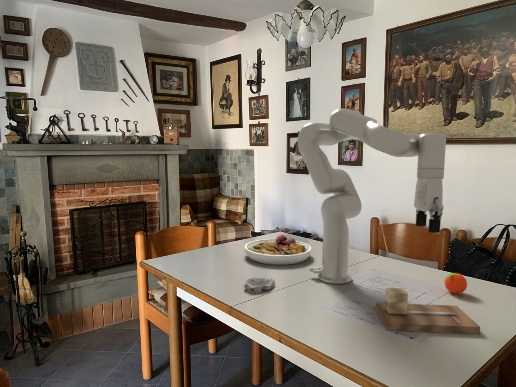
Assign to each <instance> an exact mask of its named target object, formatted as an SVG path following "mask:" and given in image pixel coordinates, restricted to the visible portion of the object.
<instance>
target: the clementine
mask: <svg viewBox="0 0 516 387" xmlns="http://www.w3.org/2000/svg"><path fill="white" fill-rule="evenodd" d="M444 287H445V288H446V290H448V292H450V293H452V294H454V295H457V294H463V293H464V292H465V291H466V290H467V287H468V281H467V279H466V278H465V276H464V275H462V274H461V273H458V272H451V273H449V274H447V276H445V279H444Z"/></svg>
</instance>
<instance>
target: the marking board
mask: <svg viewBox="0 0 516 387" xmlns="http://www.w3.org/2000/svg"><path fill="white" fill-rule="evenodd" d="M375 311H376V313H377V314H378V316H379V318H380V320H381V321H382V323H383V325H384V327H385V329H386V330H387V331H389V332H390V331H395V332H397V331H399V332H417V333H418V332H419V333H420V332H421V333H439V334H440V333H443V334H447V333H448V334H466V335H471V334H472V335H480V333H481V326H479V324H478V323H476V321H474V320H473V319H472V318H471V317H470V316H469V315H468V314H467V313H465V312H464V310H462V309H461V308H460V307H459V306H458V305H448V304H447V305H446V304H445V305H444V304H421V303H419V304H417V303H407V314H389V313H388V312H387V310H386V309H385V302H375Z"/></svg>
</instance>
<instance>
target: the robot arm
mask: <svg viewBox="0 0 516 387" xmlns="http://www.w3.org/2000/svg"><path fill="white" fill-rule="evenodd" d="M297 135H298V136H297V147H298V151H299V153H300V156H301V158H302V160H303V162H304V164H305V165H306V169H307V171H308V174H309V176H310V178H311V181H312V182H313V185H314V187H315V190H316V191H317V192H318V193H319V194H321V195H331V196H328V197H327V198H325V199H324V201H322V203H321V207H320V213H321V219H322V255H321V256H322V260H321V264H320V266H317V267H315V266H309V272H310V273H313V274H317V279H319V281H321V282H323V283H327V284H335V285H340V284H341V285H342V284H348V283H350V282H351V281H352V280H353V277H352V275H351V274H349V271H348V270H349V269H348V268H349V250H350V249H349V246H350V244H349V243H350V240H349V239H350V230H349V226H348V225H349V224H348V221H347V220H348V219H349V220H350V219H354V218H356V217H358V216H359V215H360V214H361V212H362V208H363V207H362V201H361V200H362V199H361V198H360V196H359V194H358V191H357V189H356V187H355V185H354V182H353V180H352V178H351V177H350V174H349V173H348V172H346V171H345V170H344V169H343V168H334V167H333V166H332V165H331V163H330V160H329V158H328V156H327V155H326V153H325V151H323V150H322V148H321V147H320V146H323V147H324V146H325V147H326V146H327V147H328V146H335V145H337V144H339V143H341V142H343V141H345V140H347V139H349V138H351V139H355V140H357V141H359V142H362V143H364V144H365V145H367V146H369V147H370V148H372V149H375V150H376V151H379V152H382V153H383V154H386V155H389V156H391V157H396V158H413V157H417V165H416V166H417V169H416V185H415V189H414V190H415V193H414V201H413V206H414V208H415V209H416V210H415V213H416V214H415V226H416V227H426V226H427V217H428V213H429V219H428V232H429V233H432V234H433V233H434V234H435V233H436V234H437V233H440V232H441V220H442V216H443V211H444V205H443V198H444V197H443V195H444V194H443V193H444V192H443V180H444V178H445V164H446V163H445V162H446V160H445V159H446V149H447V148H446V147H447V146H446V145H447V137H446V134H444V133H443V132H426V133H414V132H401V131H398V130H394V129H391V128H389V127H386V126H384V125H381V124H379V123H378V120H377V119H376V118H373V117H370V116H367V115H365V114H364V115H363V114H362V113H361V112H360V111H358V110H354V109H348V108H338V109H336V110H334V111H333V112H332V113H331V114H330V117H329V123H324V122H309V123H307V124H304V126H302V127H301V129H300V131H299V133H298V134H297ZM332 194H333V195H332ZM427 212H428V213H427Z"/></svg>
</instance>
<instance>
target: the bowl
mask: <svg viewBox="0 0 516 387" xmlns="http://www.w3.org/2000/svg"><path fill="white" fill-rule="evenodd" d="M244 252H245V255H246V256H247V257H248V258H249V259H250V260H252V261H254V262H256V263H260V264H265V265H273V266H275V265H276V266H283V265H285V266H286V265H287V266H288V265H295V264H299V263H302V262H304V261H306V260H307V259H309V257H310V256H311V253H312V246H311V245H310V244H308V243H306V242H303V241H298V240H296V239H295V238H294V237H289V238H288V237H287V236H286V235H284V234H279V235H278V236H276V238H268V239H267V238H266V239H257V240H253V241H249V242H247V243H246V244H245V245H244Z"/></svg>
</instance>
